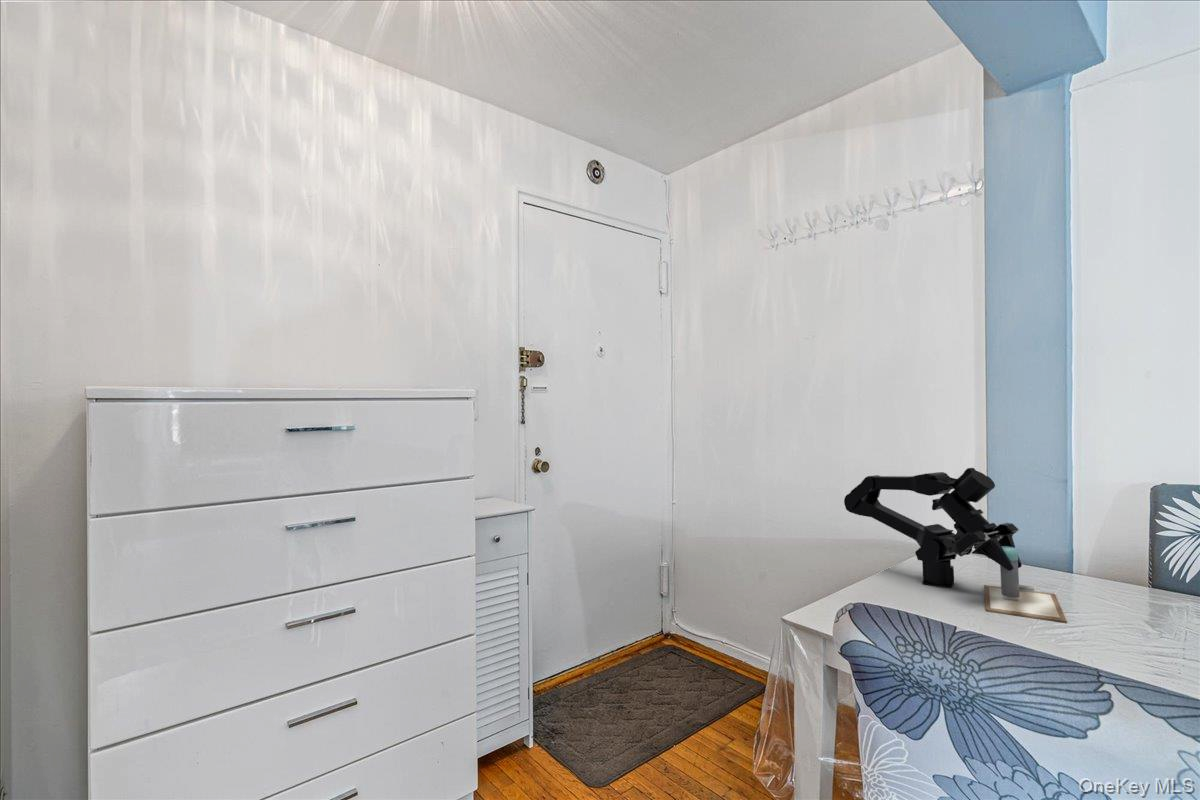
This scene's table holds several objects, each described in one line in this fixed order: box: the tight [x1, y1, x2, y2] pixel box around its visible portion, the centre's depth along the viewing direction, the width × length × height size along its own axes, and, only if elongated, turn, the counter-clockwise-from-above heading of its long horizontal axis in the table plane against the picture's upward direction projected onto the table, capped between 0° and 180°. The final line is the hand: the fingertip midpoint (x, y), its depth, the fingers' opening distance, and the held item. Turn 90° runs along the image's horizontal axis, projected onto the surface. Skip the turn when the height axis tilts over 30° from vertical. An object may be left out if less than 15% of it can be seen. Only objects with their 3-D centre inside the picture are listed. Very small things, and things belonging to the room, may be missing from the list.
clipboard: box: [983, 584, 1068, 624], centre depth 127 cm, size 14×20×2 cm
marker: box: [999, 546, 1020, 598], centre depth 128 cm, size 4×4×11 cm
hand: (1015, 568), depth 127 cm, fingers closed on marker, 3 cm apart
